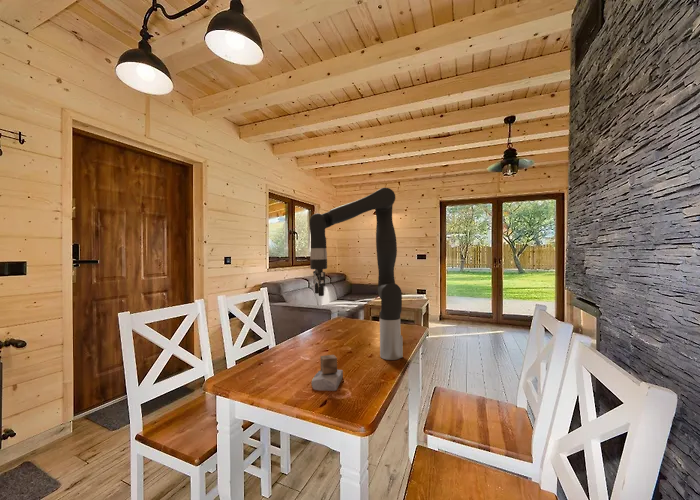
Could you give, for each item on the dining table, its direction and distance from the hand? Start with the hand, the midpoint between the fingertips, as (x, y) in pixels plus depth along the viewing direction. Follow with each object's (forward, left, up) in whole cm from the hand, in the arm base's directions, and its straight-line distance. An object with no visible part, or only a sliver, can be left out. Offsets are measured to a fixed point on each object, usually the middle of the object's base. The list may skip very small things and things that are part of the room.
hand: (319, 294), depth 129 cm
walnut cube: (+2, +25, -24) cm, 35 cm away
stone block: (+3, +26, -29) cm, 39 cm away
